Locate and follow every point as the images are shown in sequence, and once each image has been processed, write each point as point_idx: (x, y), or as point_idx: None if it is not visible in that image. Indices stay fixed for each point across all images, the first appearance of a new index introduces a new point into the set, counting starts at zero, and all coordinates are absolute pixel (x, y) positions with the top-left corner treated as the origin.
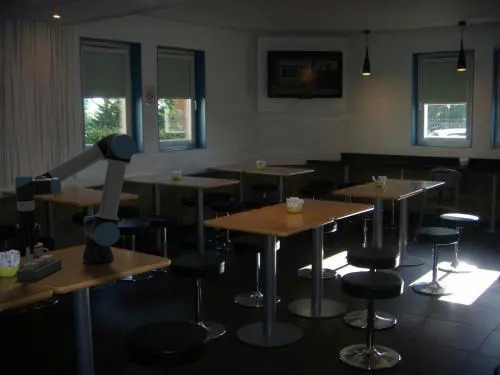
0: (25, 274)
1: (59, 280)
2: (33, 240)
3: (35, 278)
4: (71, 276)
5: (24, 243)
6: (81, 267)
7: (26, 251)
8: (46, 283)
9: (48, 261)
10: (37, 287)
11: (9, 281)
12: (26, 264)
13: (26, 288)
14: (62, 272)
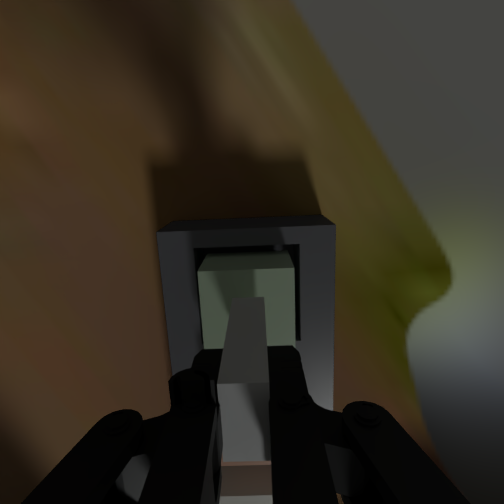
0: (256, 223)
1: (21, 239)
2: (71, 500)
3: (181, 222)
4: (9, 331)
5: (303, 437)
6: None
7: (264, 349)
8: (58, 161)
9: (225, 469)
10: (51, 54)
11: (357, 174)
12: (271, 285)
13: (115, 16)
14: (129, 402)
